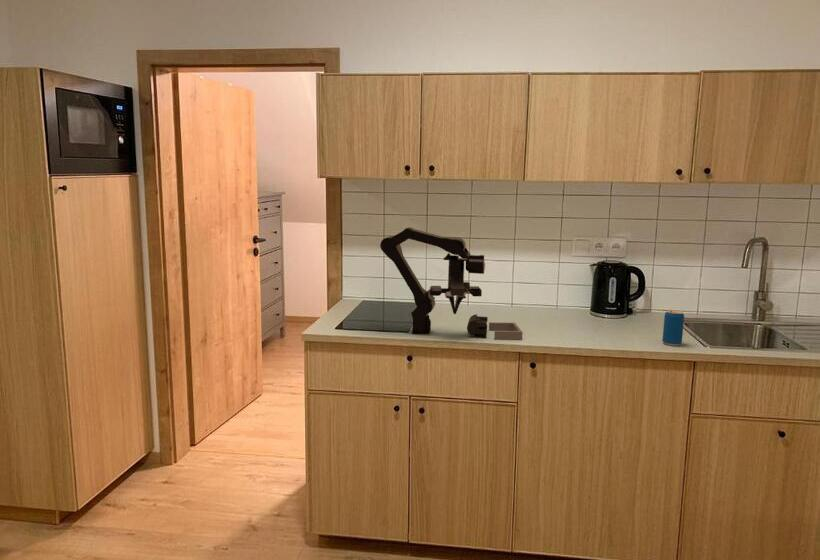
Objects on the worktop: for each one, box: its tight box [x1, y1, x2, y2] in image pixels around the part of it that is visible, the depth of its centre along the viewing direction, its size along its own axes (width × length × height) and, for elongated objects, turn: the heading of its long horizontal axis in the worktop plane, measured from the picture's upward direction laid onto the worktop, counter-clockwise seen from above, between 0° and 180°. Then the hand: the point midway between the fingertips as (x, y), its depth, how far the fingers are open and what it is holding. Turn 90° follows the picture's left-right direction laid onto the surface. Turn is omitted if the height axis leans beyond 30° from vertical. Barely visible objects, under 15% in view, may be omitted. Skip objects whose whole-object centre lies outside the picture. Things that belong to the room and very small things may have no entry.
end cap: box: [466, 313, 489, 339], centre depth 237 cm, size 10×7×7 cm
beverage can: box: [662, 309, 685, 347], centre depth 228 cm, size 6×6×12 cm
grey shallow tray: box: [488, 321, 523, 341], centre depth 238 cm, size 10×14×3 cm
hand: (454, 313), depth 236 cm, fingers closed
